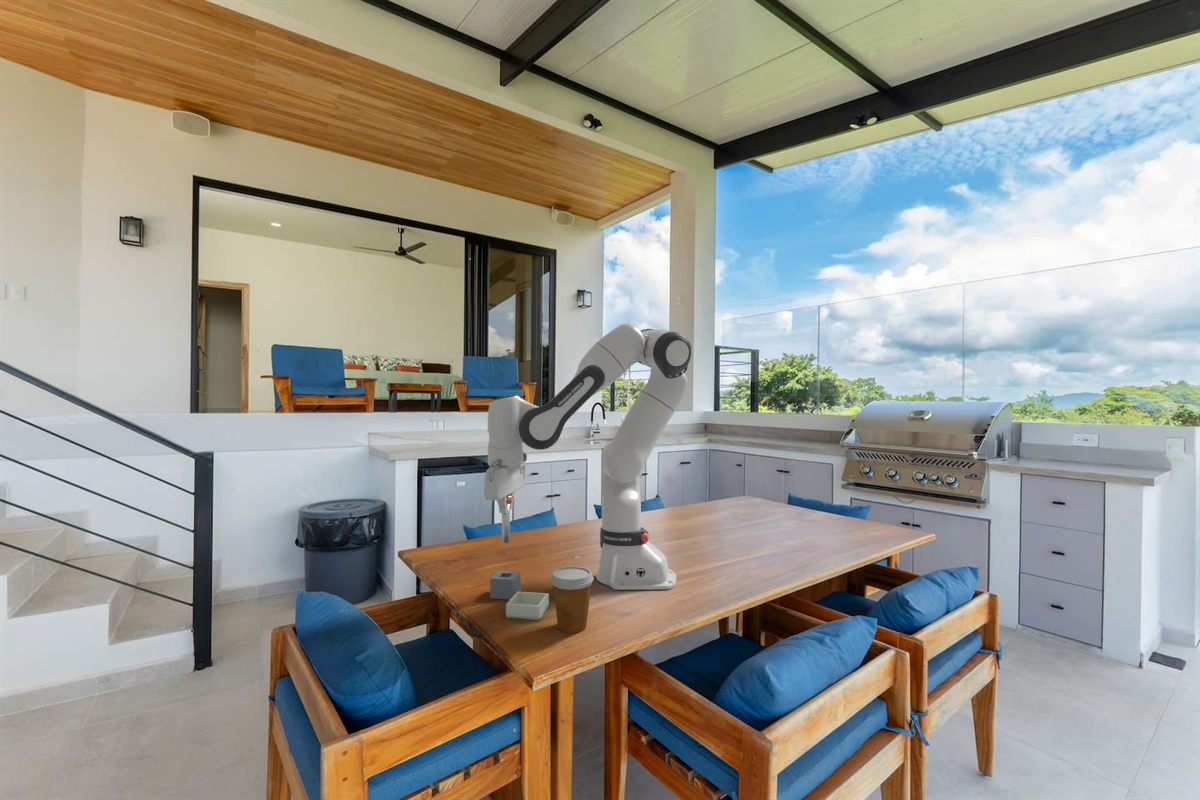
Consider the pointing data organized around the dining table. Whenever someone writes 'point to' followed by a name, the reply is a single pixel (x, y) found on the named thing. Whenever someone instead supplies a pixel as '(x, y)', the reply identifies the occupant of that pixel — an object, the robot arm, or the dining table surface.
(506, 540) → the pin
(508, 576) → the pin block
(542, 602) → the tray
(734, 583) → the dining table surface
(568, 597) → the disposable coffee cup
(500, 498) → the robot arm
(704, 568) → the dining table surface
